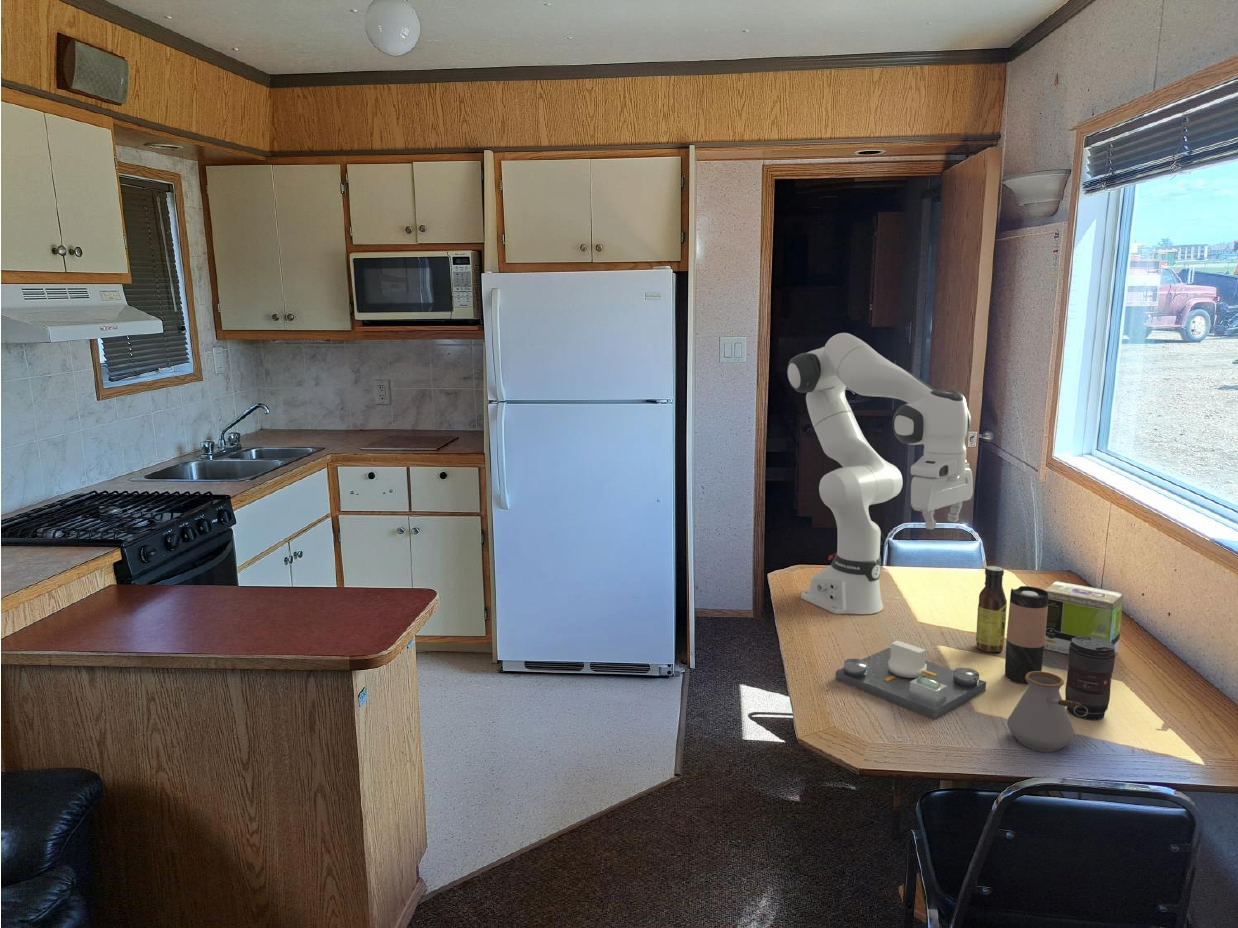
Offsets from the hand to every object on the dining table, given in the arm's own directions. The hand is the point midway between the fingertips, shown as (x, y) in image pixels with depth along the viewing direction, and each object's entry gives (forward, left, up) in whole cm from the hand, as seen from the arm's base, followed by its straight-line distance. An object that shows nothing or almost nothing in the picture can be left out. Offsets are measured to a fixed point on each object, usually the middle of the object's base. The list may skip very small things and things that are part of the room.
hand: (941, 524), depth 195 cm
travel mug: (+18, +7, -33) cm, 38 cm away
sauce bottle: (+5, +17, -33) cm, 37 cm away
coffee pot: (+37, -21, -33) cm, 53 cm away
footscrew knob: (+3, -13, -30) cm, 33 cm away
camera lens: (+34, +1, -33) cm, 47 cm away
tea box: (+19, +32, -33) cm, 49 cm away
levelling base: (+4, -15, -33) cm, 36 cm away
